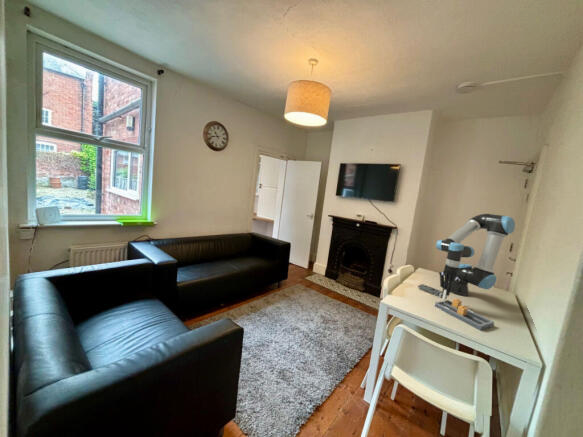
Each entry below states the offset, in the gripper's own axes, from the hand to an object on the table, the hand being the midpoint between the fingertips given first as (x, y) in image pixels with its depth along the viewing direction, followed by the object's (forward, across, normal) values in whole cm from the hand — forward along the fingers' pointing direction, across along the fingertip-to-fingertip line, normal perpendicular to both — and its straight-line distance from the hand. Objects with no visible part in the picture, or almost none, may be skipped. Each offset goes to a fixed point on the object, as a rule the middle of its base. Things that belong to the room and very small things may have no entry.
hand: (444, 298), depth 155 cm
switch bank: (+4, +14, -3) cm, 15 cm away
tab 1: (+2, +8, 0) cm, 8 cm away
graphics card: (+5, -17, +12) cm, 21 cm away
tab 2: (+2, +15, -7) cm, 16 cm away
